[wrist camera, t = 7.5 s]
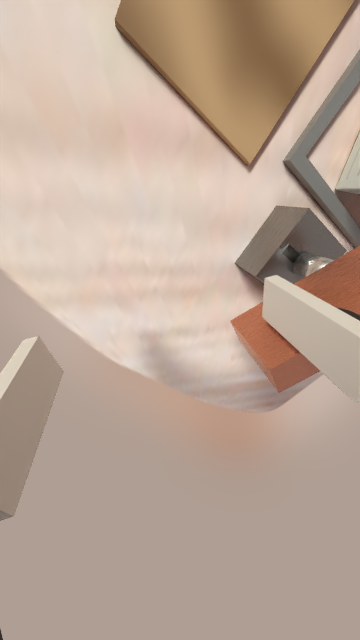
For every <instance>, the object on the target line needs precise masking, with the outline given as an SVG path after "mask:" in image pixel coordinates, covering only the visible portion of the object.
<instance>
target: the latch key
mask: <svg viewBox="0 0 360 640" xmlns="http://www.w3.org/2000/svg"><path fill="white" fill-rule="evenodd" d="M293 272H294V274H295V275H297V276H299V277H301V278H303V279H301V280H300V281H298V282H296V283H295V284H294V285H296V286H298V287H299V288H301V289H303V290H305V291H307V292H308V293H310V294H312V295H314V296H316V297H318V298H319V299H321V300H323V301H325V302H327V303H328V304H330V305H332V306H334V307H336V308H342V309H346V310H349V311H352V312H354V313H356V314H358V315H360V246H358V247H357V248H355V249H353V250H351V251H350V252H348V253H346V254H344V255H343V256H341V257H339V258H338V259H336V260H333V259H329V258H326V257H323V256H320V255H317V254H314V253H311V252H305V253H302V254H301V255H299V256H298V257H297V258H296V260H295V262H294V264H293ZM262 308H263V302H262V303H260V304H258V305H257V306H255V307H253V308H252V309H250V310H248V311H246V312H245V313H243V314H241V315H240V316H238V317H236V318H234V319H233V320H231V323H232V325H233V327H234V329H235V331H236V333H237V335H238V337H239V339H240V342H241V343H242V344H243V346H244V347H245V348H246V349H247V351H248V352H249V353H250V355H251V356H252V357H253V359H254V360H255V361H256V363H257V364H258V365H259V367H260V368H261V369H262V370H263V372H264V373H265V374H266V376H267V377H268V378H269V380H270V381H271V382H272V384H273V385H274V386H275V388H276V389H277V390H278V392H281V391H283V390H285V389H287V388H289V387H291V386H292V385H294V384H296V383H298V382H300V381H302V380H304V379H306V378H308V377H309V376H311V375H313V374H315V373H317V372H319V371H320V370H319V369H318V368H317V367H316V366H315V365H314V364H312V363H311V362H310V361H309V360H308V359H307V358H306V357H305V356H304V355H303V354H302V353H301V352H299V351H298V350H297V349H296V348H295V347H294V346H293V345H292V344H291V343H290V342H289V341H288V340H286V339H285V338H284V337H283V336H282V335H281V334H280V333H279V332H278V331H277V330H276V329H275V328H273V327H272V326H271V325H270V324H269V323H268V322H267V321H266V320H265V319H264V318H263V317H262Z"/></svg>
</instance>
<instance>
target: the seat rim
mask: <svg viewBox="0 0 360 640" xmlns="http://www.w3.org/2000/svg"><path fill="white" fill-rule="evenodd" d="M359 81H360V50H359V51H358V53H357V54H356V56H355V57H354V59H353V60H352V62H351V63H350V64H349V66H348V67H347V69H346V70H345V72H344V73H343V75H342V76H341V78H340V79H339V81H338V82H337V83H336V85H335V86H334V88H333V89H332V91H331V92H330V94H329V95H328V97H327V98H326V99H325V101H324V102H323V104H322V105H321V107H320V108H319V110H318V111H317V113H316V114H315V116H314V117H313V118H312V120H311V121H310V123H309V124H308V126H307V127H306V129H305V130H304V132H303V133H302V134H301V136H300V137H299V139H298V140H297V142H296V143H295V145H294V146H293V148H292V149H291V150H290V152H289V153H288V155H287V156H286V158H285V159H284V161H283V162H284V163H285V164H286V165H287V167H288V168H289V169H290V170H291V171H292V173H293V174H294V175H295V176H296V177H297V179H298V180H299V181H300V182H301V183H302V185H303V186H304V187H305V188H306V189H307V191H308V192H309V193H310V194H311V195H312V197H313V198H314V199H315V200H316V201H317V203H318V204H319V205H320V206H321V207H322V209H323V210H324V211H325V212H326V213H327V215H328V216H329V217H330V218H331V219H332V221H333V222H334V223H335V224H336V225H337V227H338V228H339V229H340V230H341V231H342V233H343V234H344V235H345V236H346V237H347V239H348V240H349V241H350V242H351V244H352V245H353V246H354V247H355V248H357V247H358V246H360V227H359V226H358V224H357V223H356V222H355V220H354V219H353V218H352V217H351V215H350V214H349V213H348V211H347V210H346V209H345V207H344V206H343V205H342V203H341V202H340V201H339V199H338V198H337V197H336V195H335V194H334V193H333V191H332V190H331V189H330V187H329V186H328V185H327V183H326V182H325V181H324V179H323V178H322V177H321V175H320V174H319V173H318V171H317V170H316V169H315V167H314V166H313V165H312V163H311V162H310V161H309V159H308V158H307V157H306V155H307V154H308V152H309V151H310V150H311V148H312V147H313V145H314V144H315V143H316V141H317V140H318V138H319V137H320V136H321V134H322V133H323V131H324V130H325V129H326V127H327V126H328V124H329V123H330V122H331V120H332V119H333V117H334V116H335V115H336V113H337V112H338V110H339V109H340V108H341V106H342V105H343V103H344V102H345V101H346V99H347V98H348V96H349V95H350V94H351V92H352V91H353V90H354V88H355V87H356V85H357V84H358V83H359Z"/></svg>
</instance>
